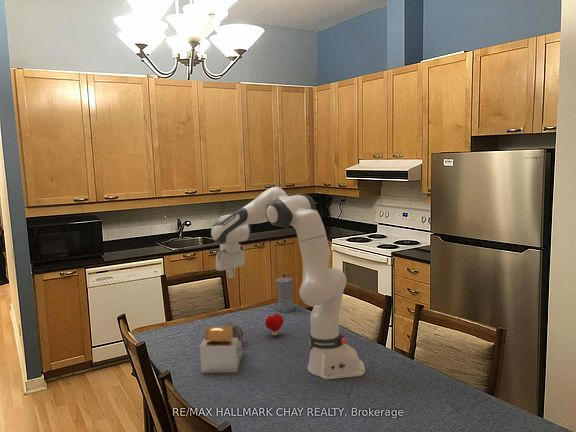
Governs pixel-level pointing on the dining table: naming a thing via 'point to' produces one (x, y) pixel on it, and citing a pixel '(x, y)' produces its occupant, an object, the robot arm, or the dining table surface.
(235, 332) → the vintage flashlight
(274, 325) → the red heart ornament
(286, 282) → the moka pot
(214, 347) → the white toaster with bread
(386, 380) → the dining table surface
